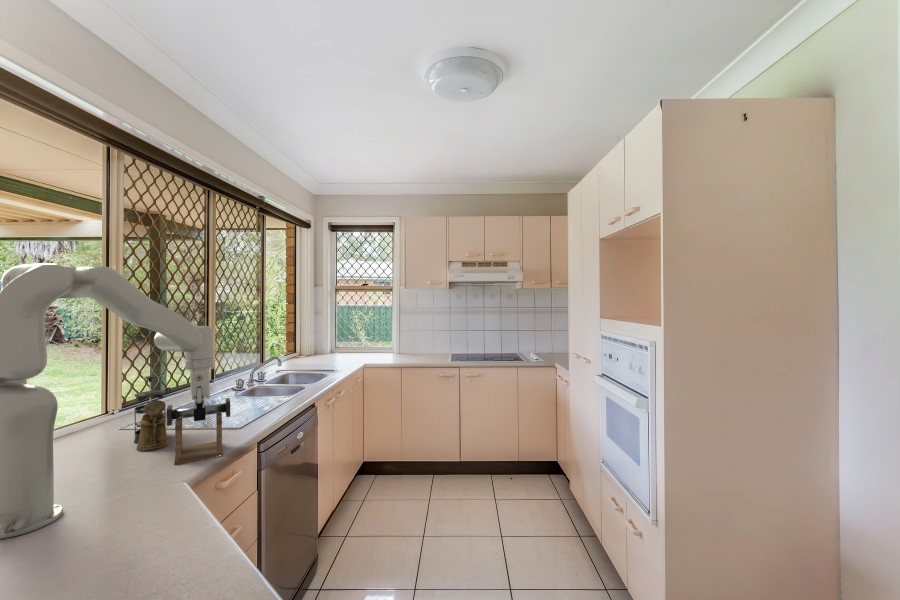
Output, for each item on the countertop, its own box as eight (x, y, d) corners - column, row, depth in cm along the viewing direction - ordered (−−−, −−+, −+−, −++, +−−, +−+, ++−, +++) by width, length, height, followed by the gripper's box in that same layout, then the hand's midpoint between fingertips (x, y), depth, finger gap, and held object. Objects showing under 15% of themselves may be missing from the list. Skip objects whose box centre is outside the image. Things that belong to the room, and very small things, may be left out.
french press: (168, 440, 142) (167, 376, 142) (134, 446, 136) (134, 380, 135) (164, 431, 151) (163, 372, 150) (132, 437, 144) (132, 375, 144)
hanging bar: (230, 416, 132) (230, 401, 132) (166, 425, 123) (166, 409, 122) (229, 412, 136) (229, 397, 136) (168, 421, 127) (168, 405, 127)
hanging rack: (222, 455, 128) (222, 416, 128) (174, 464, 121) (174, 422, 121) (221, 444, 138) (221, 407, 138) (176, 451, 131) (176, 413, 131)
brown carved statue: (137, 458, 126) (137, 402, 126) (135, 445, 136) (135, 394, 136) (171, 451, 132) (171, 397, 132) (167, 439, 142) (167, 390, 142)
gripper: (212, 366, 124) (213, 423, 124) (212, 359, 138) (212, 410, 138) (184, 368, 120) (185, 428, 120) (186, 361, 134) (187, 414, 134)
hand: (199, 418), depth 129 cm, fingers closed on hanging bar, 3 cm apart
